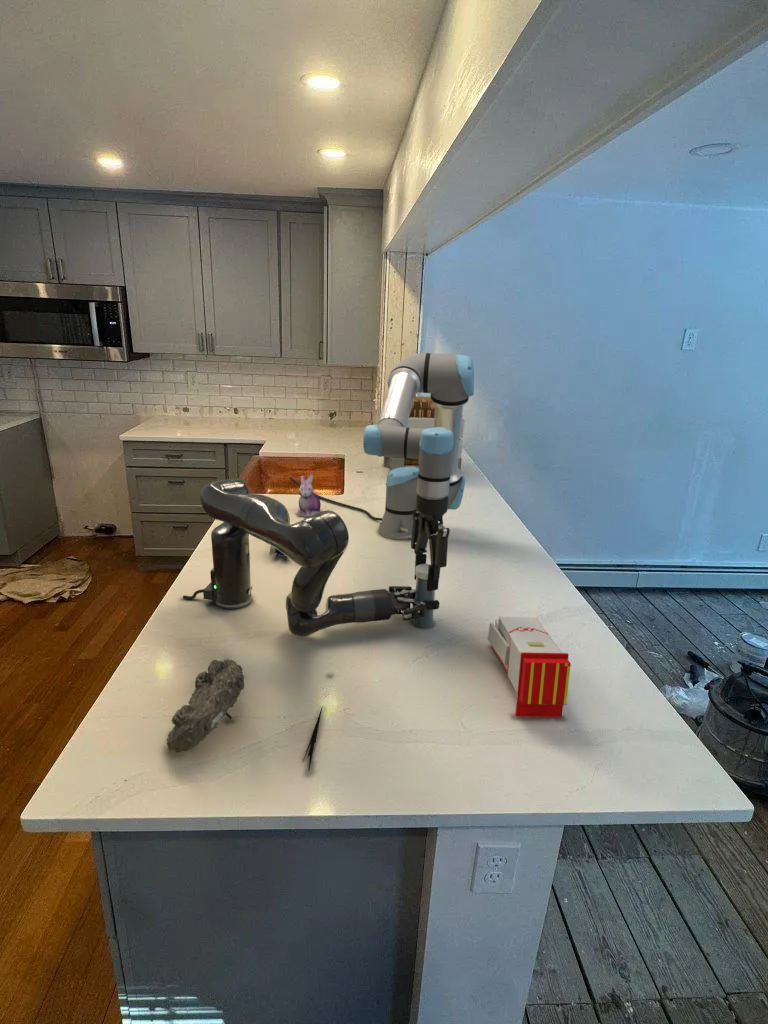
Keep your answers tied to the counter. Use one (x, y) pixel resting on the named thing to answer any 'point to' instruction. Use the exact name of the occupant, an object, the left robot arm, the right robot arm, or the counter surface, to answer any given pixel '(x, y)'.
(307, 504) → the figurine
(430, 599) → the jar
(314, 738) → the feather
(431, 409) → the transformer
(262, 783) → the counter surface
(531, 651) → the toy
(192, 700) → the fossil
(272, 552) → the figurine character
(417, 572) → the lid
